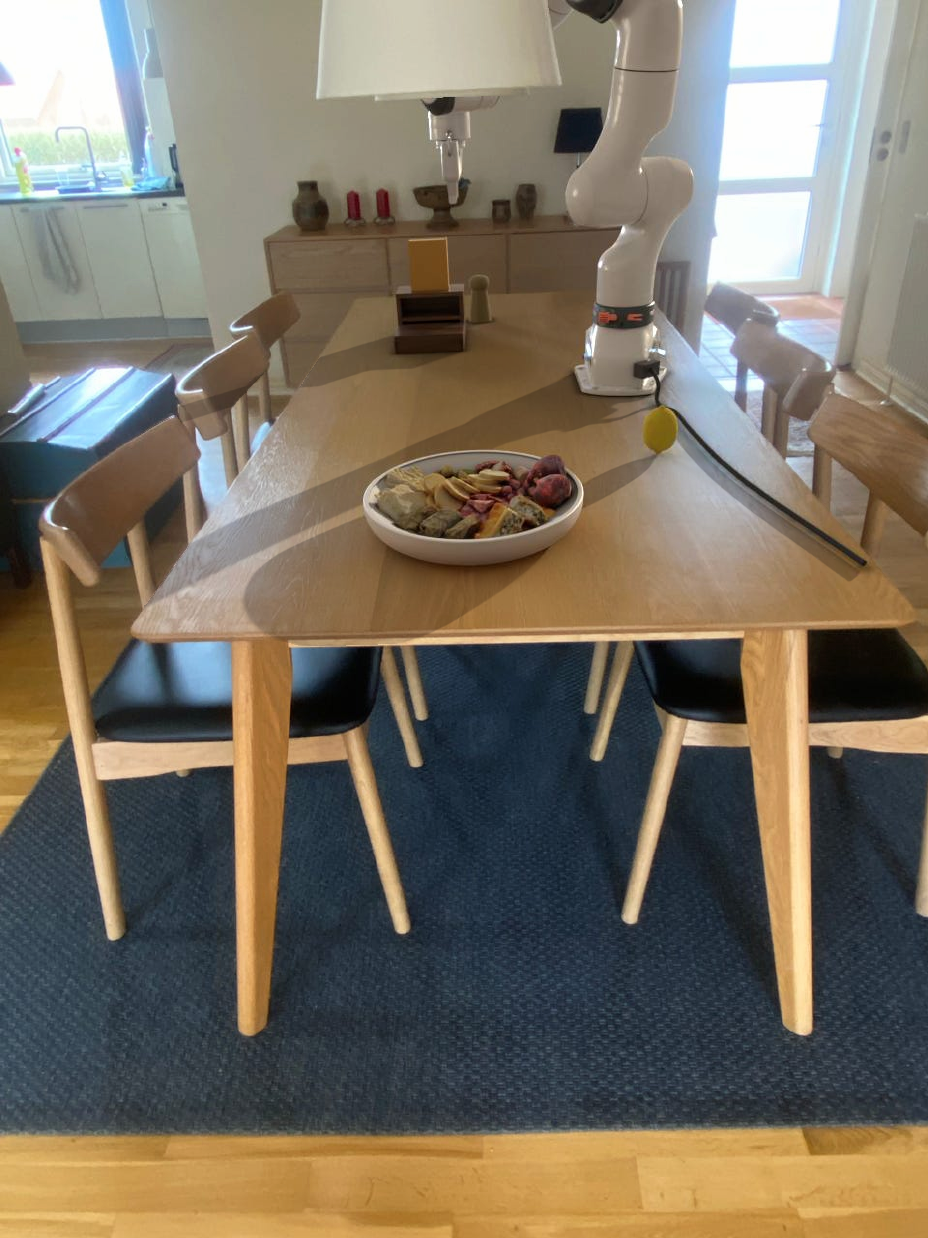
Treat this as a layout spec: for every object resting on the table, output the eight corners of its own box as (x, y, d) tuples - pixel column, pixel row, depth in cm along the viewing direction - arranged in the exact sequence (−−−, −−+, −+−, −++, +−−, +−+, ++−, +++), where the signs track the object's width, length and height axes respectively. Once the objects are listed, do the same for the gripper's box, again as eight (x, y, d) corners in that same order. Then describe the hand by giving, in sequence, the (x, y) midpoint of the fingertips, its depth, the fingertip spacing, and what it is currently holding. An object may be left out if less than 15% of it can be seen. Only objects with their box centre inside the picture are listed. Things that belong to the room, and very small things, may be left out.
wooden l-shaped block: (463, 351, 190) (461, 301, 184) (395, 353, 191) (390, 304, 185) (466, 329, 207) (464, 283, 201) (402, 332, 208) (399, 286, 202)
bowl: (411, 599, 99) (406, 541, 94) (340, 505, 122) (333, 455, 118) (624, 543, 108) (628, 487, 104) (521, 465, 131) (520, 418, 127)
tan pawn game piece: (477, 316, 218) (475, 272, 212) (496, 318, 215) (495, 273, 209) (464, 321, 214) (462, 276, 208) (483, 323, 211) (481, 278, 205)
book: (448, 289, 196) (446, 239, 190) (411, 291, 196) (407, 241, 190) (449, 286, 199) (446, 236, 193) (412, 287, 200) (408, 238, 194)
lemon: (634, 451, 134) (637, 403, 130) (662, 445, 136) (666, 397, 132) (653, 462, 130) (657, 413, 126) (682, 456, 132) (687, 407, 127)
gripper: (463, 130, 169) (466, 205, 177) (465, 128, 187) (468, 196, 194) (432, 132, 170) (437, 206, 177) (437, 130, 187) (441, 197, 194)
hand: (453, 201), depth 185 cm, fingers open, 8 cm apart
